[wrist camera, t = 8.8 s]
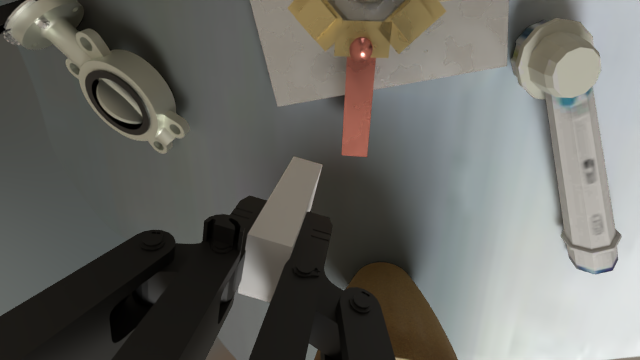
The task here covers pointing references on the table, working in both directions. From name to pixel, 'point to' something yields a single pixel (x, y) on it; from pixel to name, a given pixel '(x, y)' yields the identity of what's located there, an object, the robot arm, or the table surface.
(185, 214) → the table surface
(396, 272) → the plant pot
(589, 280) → the table surface
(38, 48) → the butterfly valve
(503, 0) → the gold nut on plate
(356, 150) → the yellow valve with lever
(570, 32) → the white handheld device
